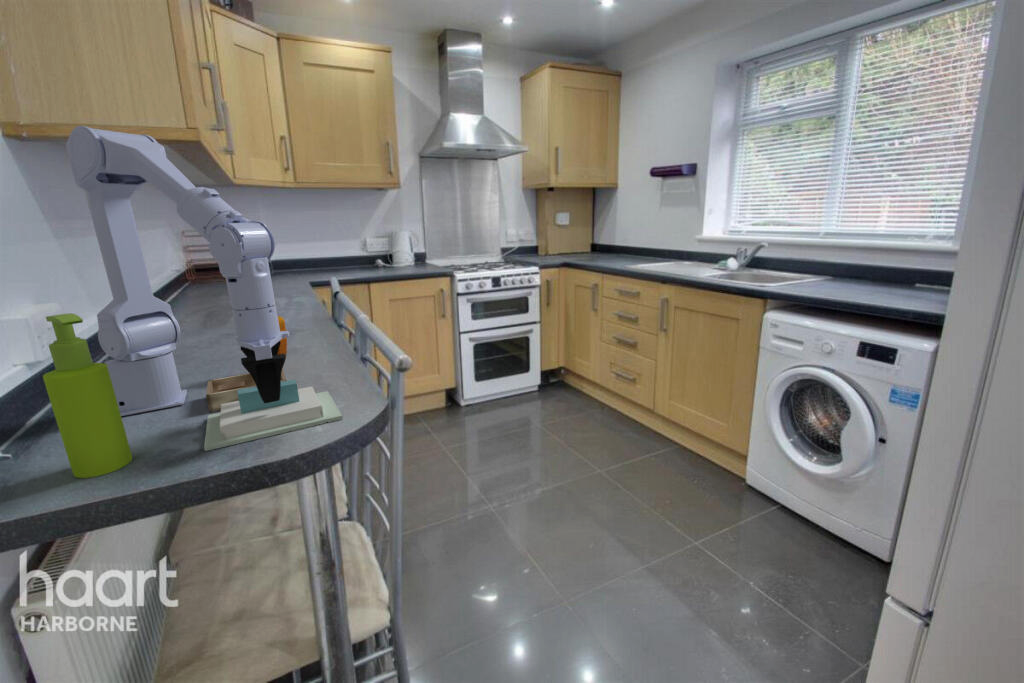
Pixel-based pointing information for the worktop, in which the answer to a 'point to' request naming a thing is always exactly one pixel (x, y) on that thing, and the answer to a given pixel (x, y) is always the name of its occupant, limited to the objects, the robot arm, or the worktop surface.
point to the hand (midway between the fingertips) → (270, 393)
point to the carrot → (284, 340)
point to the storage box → (228, 389)
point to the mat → (216, 441)
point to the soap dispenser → (84, 404)
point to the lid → (268, 410)
